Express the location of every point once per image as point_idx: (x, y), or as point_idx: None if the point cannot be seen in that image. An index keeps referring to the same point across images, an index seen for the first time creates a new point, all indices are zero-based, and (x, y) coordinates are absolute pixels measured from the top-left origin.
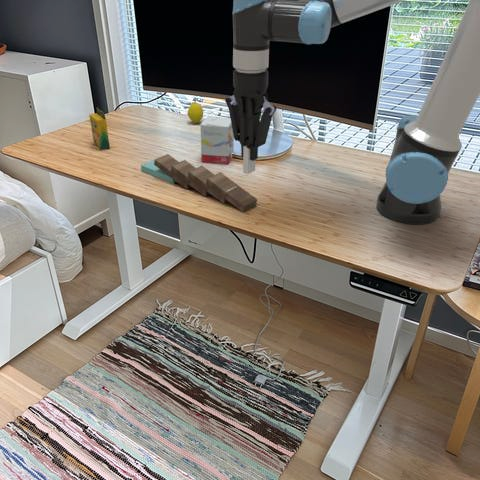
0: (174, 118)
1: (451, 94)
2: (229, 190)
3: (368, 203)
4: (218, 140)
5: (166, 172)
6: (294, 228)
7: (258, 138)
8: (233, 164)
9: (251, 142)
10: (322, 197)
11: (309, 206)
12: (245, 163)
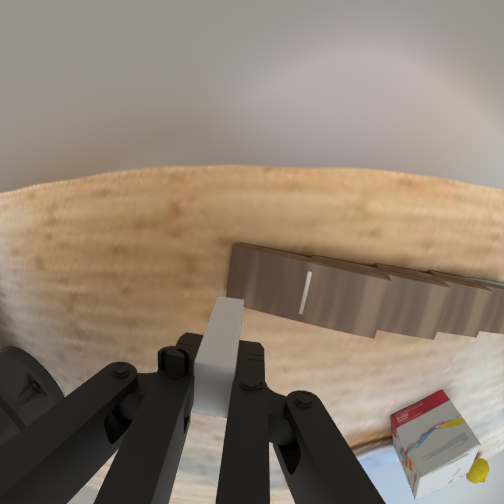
0: (497, 446)
1: None
2: (306, 279)
3: (70, 391)
4: (429, 442)
5: (489, 283)
6: (98, 240)
7: (91, 395)
8: (380, 421)
9: (162, 384)
10: None
11: (128, 346)
12: (228, 317)
